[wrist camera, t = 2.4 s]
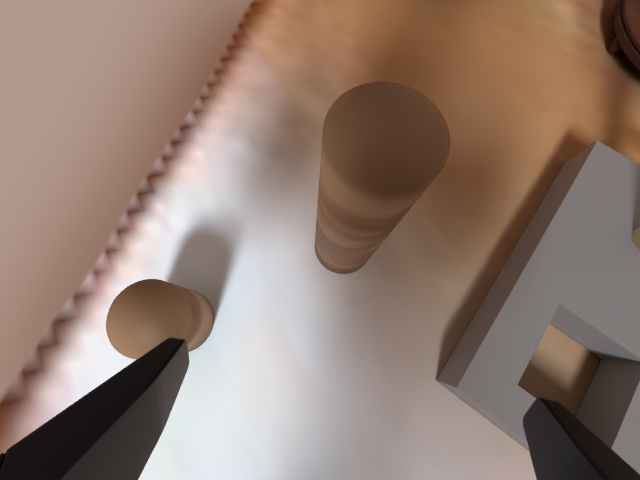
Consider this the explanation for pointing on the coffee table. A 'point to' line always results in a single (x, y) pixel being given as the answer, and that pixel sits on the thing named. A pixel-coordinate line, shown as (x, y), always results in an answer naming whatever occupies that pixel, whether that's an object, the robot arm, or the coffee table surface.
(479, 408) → the pin board
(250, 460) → the coffee table surface
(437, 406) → the coffee table surface
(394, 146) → the tall pin
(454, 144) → the coffee table surface
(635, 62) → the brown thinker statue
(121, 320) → the short pin
